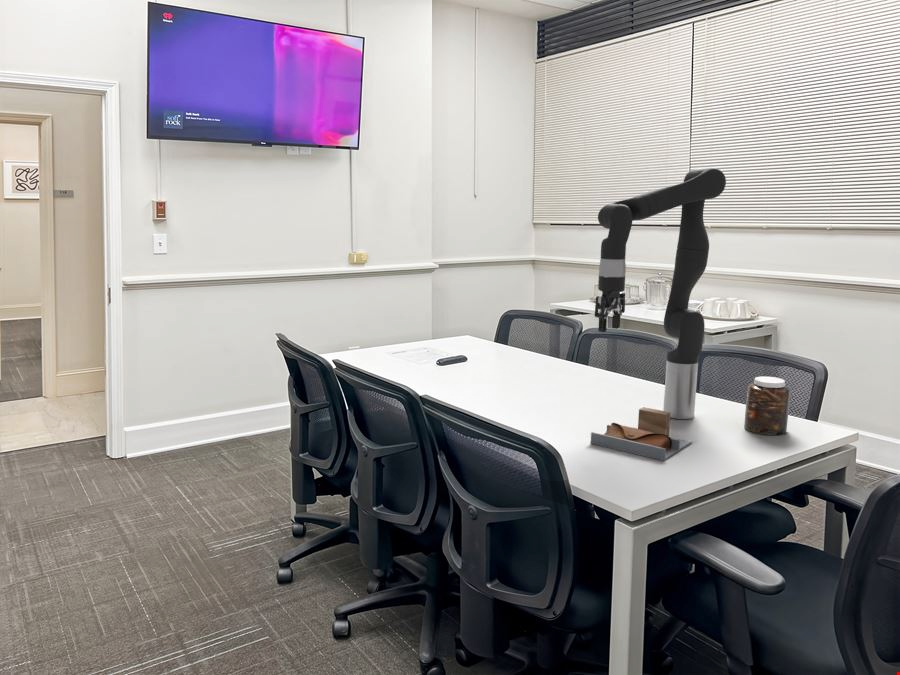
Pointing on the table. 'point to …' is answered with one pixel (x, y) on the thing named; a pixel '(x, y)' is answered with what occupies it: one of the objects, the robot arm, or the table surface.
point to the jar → (767, 406)
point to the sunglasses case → (639, 436)
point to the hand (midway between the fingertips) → (609, 329)
